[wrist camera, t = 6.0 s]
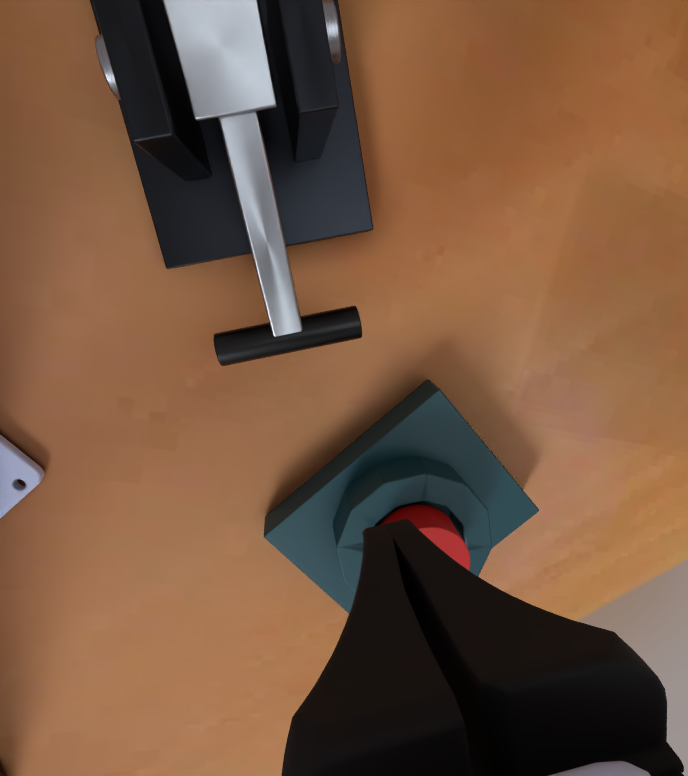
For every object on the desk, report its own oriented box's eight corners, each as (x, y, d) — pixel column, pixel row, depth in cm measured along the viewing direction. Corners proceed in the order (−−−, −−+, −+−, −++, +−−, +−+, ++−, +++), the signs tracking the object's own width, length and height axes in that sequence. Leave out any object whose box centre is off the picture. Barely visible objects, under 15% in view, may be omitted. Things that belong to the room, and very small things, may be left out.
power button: (407, 592, 20) (418, 622, 19) (355, 541, 19) (361, 568, 18) (471, 541, 20) (488, 567, 18) (421, 487, 19) (434, 509, 17)
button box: (370, 613, 24) (384, 670, 21) (264, 516, 22) (261, 562, 19) (522, 493, 23) (561, 532, 20) (428, 378, 21) (454, 401, 18)
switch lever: (354, 322, 18) (367, 351, 17) (224, 348, 18) (221, 381, 16) (306, -27, 13) (317, -47, 11) (112, 3, 12) (86, -12, 10)
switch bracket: (368, 231, 19) (415, 217, 12) (173, 268, 19) (106, 275, 12) (321, -67, 16) (347, -308, 9) (89, -33, 16) (-67, -261, 9)
